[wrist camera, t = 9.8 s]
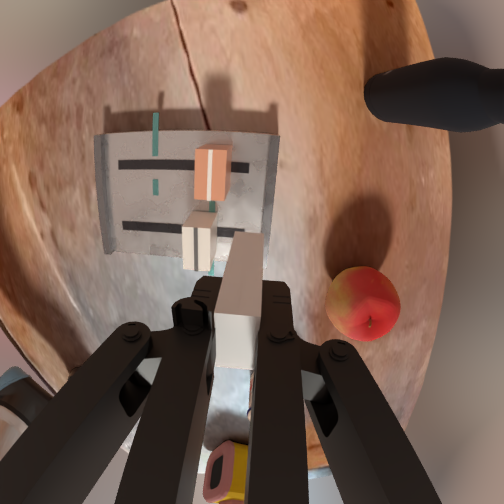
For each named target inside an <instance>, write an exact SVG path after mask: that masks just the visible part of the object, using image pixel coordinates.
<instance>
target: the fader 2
mask: <svg viewBox="0 0 504 504" xmlns="http://www.w3.org/2000/svg"><path fill="white" fill-rule="evenodd" d="M217 216H218V213H214V212H199V211H192V213H191V214H190V216H189V217H188V218H187V220H186V221H185V223H184V224H183V226H182V249H183V269H190V270H194V271H198V270H201V271H210V270H211V267H212V264H213V260H214V257H215V254H216V251H217Z"/></svg>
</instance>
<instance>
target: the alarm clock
mask: <svg viewBox="0 0 504 504" xmlns="http://www.w3.org/2000/svg"><path fill="white" fill-rule="evenodd" d="M247 458H248V445H243V444H239V443H235V442H232V441H231V440H228V441H225V442H224V443H222V444H221V445H220V446H218V447H217V448H216V449H215V450H213V452H212V453H211V454H210V456H209V459H208V462H207V466H206V472H205V479H204V486H203V497H204V499H205V500H206V501H207V502H209V503H219V504H244V496H245V483H246V471H247Z"/></svg>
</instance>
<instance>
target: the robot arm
mask: <svg viewBox="0 0 504 504" xmlns="http://www.w3.org/2000/svg"><path fill="white" fill-rule="evenodd" d="M263 250H264V233H251V232H239V231H235V233H234V237H233V241H232V245H231V248H230V252H229V256H228V260H227V264H226V267H225V271H224V275H223V277H212V276H203V277H202V278H200V279H199V280H198V281H197V282H196V284H195V287H194V291H193V292H192V295H191V297H187V298H183V299H180V300H178V301H177V302H175V303H174V304H173V306H172V307H171V308H172V316H173V323H174V327H173V328H171V329H168V330H163V331H152V332H151V331H150V329H149V328H148V326H147V325H145V324H143V323H141V322H128V323H125V324H122V325H121V326H119V327H118V328H117V329H116V330H115V331H114V332H113V333H112V334H111V335H110V336H109V337H108V338H107V339H106V340H105V341H104V342H103V343H102V345H101V346H100V347H99V348H98V349H97V350H96V351H95V352H94V353H93V354H92V355H91V356H90V357H89V358H88V359H87V361H86V362H85V363H84V364H83V365H82V366H81V367H77V368H74V369H73V370H72V371H71V373H70V375H69V377H68V381H67V382H66V384H65V385H64V386H63V387H62V388H61V389H60V390H59V391H58V393H57V394H56V395H55V396H54V397H53V396H52V395H50V394H49V393H48V392H47V391H46V390H44V389H43V388H42V387H41V386H40V385H39V384H37V383H36V382H35V381H34V380H33V379H32V377H31V376H30V375H27V374H26V373H25V372H24V371H23V370H22V369H21V368H19V367H16V366H14V367H11V368H9V369H8V370H7V371H6V372H5V373H4V374H3V375H2V376H1V377H0V504H82V503H83V502H84V500H85V499H86V497H87V496H88V494H89V493H90V491H91V489H92V488H93V486H94V485H95V484H96V482H97V481H98V479H99V478H100V476H101V475H102V473H103V472H104V470H105V469H106V467H107V466H108V464H109V463H110V461H111V460H112V458H113V457H114V455H115V454H116V452H117V451H118V449H119V448H120V446H121V445H122V443H123V442H124V440H125V439H126V438H127V436H128V435H129V433H130V432H131V430H132V429H133V427H134V426H135V424H136V423H137V421H138V420H139V418H140V417H141V418H140V421H139V424H138V427H137V430H136V433H135V436H134V440H133V443H132V446H131V449H130V452H129V456H128V459H127V462H126V465H125V468H124V472H123V476H122V479H121V482H120V486H119V489H118V493H117V496H116V500H115V503H114V504H192V502H193V496H194V490H195V484H196V478H197V472H198V466H199V460H200V454H201V448H202V442H203V436H204V431H205V425H206V419H207V414H208V408H209V402H210V397H211V391H212V386H213V380H214V365H215V366H216V367H225V368H235V369H246V370H254V377H253V386H252V403H251V417H250V431H249V444H248V458H247V471H246V483H245V496H244V504H309V494H308V493H309V491H308V466H307V446H306V429H305V414H304V400H305V403H306V406H307V409H308V411H309V414H310V417H311V419H312V422H313V424H314V427H315V430H316V432H317V435H318V438H319V440H320V443H321V445H322V448H323V451H324V453H325V456H326V458H327V461H328V464H329V466H330V469H331V471H332V474H333V477H334V479H335V482H336V485H337V487H338V490H339V492H340V495H341V498H342V500H343V503H344V504H442V503H441V501H440V499H439V497H438V495H437V493H436V491H435V489H434V487H433V485H432V483H431V481H430V479H429V477H428V475H427V473H426V471H425V469H424V467H423V466H422V464H421V462H420V460H419V458H418V456H417V454H416V452H415V451H414V449H413V447H412V445H411V443H410V442H409V440H408V438H407V436H406V434H405V432H404V431H403V429H402V427H401V425H400V423H399V422H398V420H397V418H396V416H395V414H394V413H393V411H392V409H391V407H390V406H389V404H388V402H387V401H386V399H385V397H384V395H383V394H382V392H381V390H380V388H379V387H378V385H377V383H376V382H375V380H374V378H373V377H372V375H371V373H370V371H369V370H368V368H367V366H366V365H365V363H364V361H363V360H362V358H361V356H360V355H359V353H358V352H357V350H356V349H355V348H354V346H353V345H351V344H350V343H348V342H346V341H343V340H339V339H332V340H329V341H326V342H324V343H323V344H322V345H321V346H318V345H314V344H311V343H308V342H306V341H304V340H302V339H301V338H300V337H299V336H298V335H297V333H296V331H295V330H294V326H293V315H292V305H291V295H290V288H289V287H288V286H287V284H286V283H285V282H281V281H268V280H262V277H263ZM303 399H304V400H303Z"/></svg>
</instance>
